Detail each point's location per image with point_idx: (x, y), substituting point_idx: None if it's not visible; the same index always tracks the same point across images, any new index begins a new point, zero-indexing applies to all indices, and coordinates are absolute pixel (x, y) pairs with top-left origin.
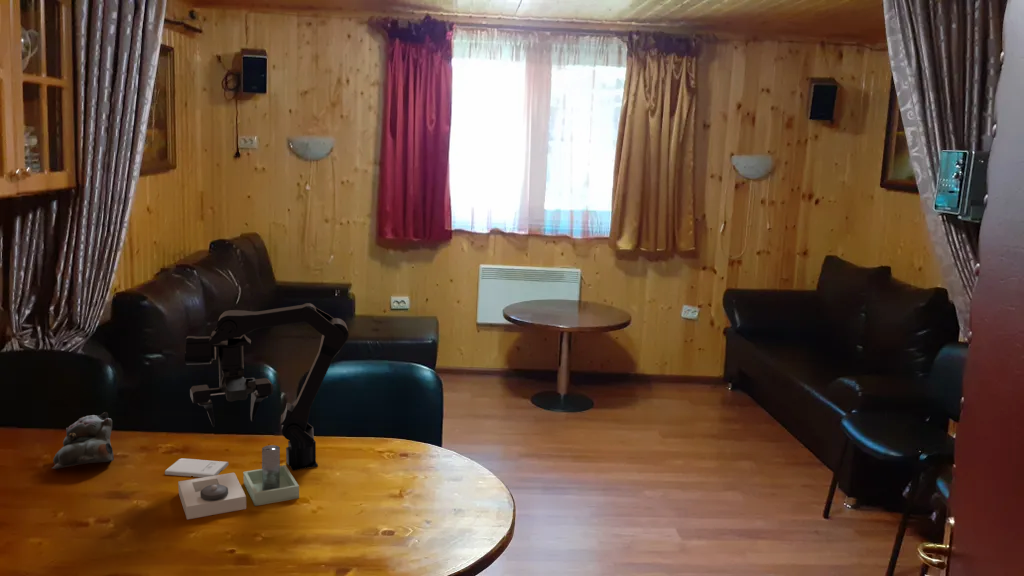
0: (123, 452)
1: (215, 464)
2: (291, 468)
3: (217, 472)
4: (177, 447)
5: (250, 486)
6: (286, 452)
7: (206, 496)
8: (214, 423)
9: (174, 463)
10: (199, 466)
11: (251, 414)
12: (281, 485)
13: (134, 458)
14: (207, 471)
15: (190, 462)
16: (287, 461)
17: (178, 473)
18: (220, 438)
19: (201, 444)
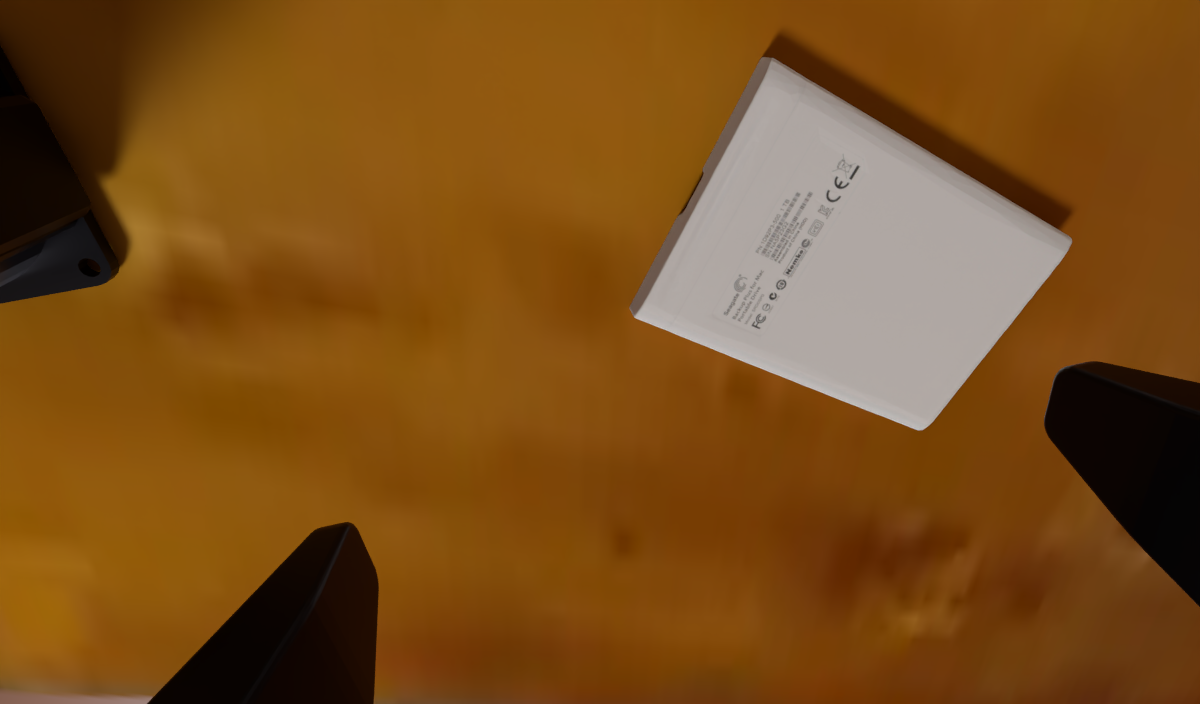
0: (1126, 559)
1: (733, 281)
2: (5, 62)
3: (731, 130)
4: (883, 592)
5: None
6: (9, 222)
7: None
8: (1126, 387)
9: (987, 348)
10: (849, 265)
11: (323, 673)
12: None
13: None
14: (811, 149)
15: (891, 347)
16: (46, 158)
17: (995, 194)
18: (652, 677)
19: (759, 617)
